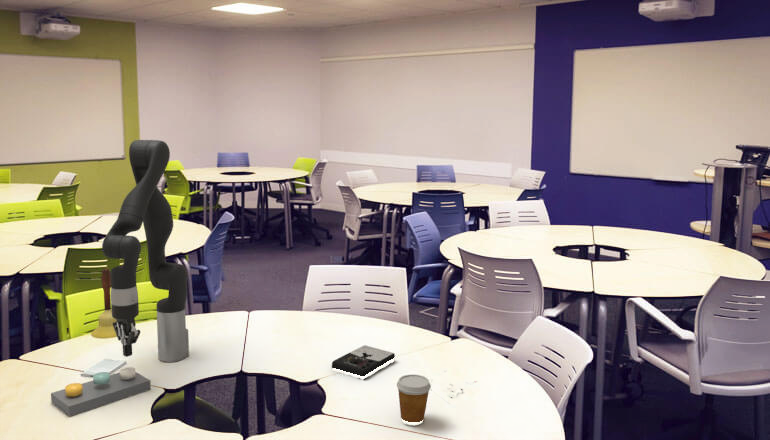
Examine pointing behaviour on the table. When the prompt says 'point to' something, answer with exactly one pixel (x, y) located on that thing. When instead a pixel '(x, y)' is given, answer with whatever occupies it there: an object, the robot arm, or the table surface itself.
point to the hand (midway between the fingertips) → (127, 355)
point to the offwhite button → (127, 373)
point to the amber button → (73, 389)
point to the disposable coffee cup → (413, 397)
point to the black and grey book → (362, 360)
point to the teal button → (101, 378)
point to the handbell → (105, 311)
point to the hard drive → (104, 367)
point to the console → (100, 394)
